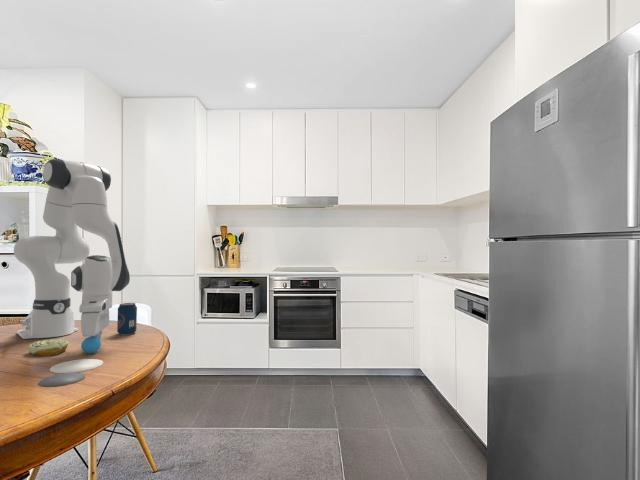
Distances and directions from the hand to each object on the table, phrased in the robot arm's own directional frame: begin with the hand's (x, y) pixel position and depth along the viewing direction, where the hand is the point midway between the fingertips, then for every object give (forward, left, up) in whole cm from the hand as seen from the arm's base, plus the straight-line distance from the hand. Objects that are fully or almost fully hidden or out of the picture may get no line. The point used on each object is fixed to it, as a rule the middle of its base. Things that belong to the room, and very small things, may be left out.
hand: (96, 344), depth 127 cm
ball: (+3, -3, +1) cm, 5 cm away
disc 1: (+23, -20, -2) cm, 31 cm away
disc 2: (+14, -12, -2) cm, 19 cm away
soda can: (-16, +20, -2) cm, 25 cm away
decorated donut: (-10, -10, -2) cm, 14 cm away
